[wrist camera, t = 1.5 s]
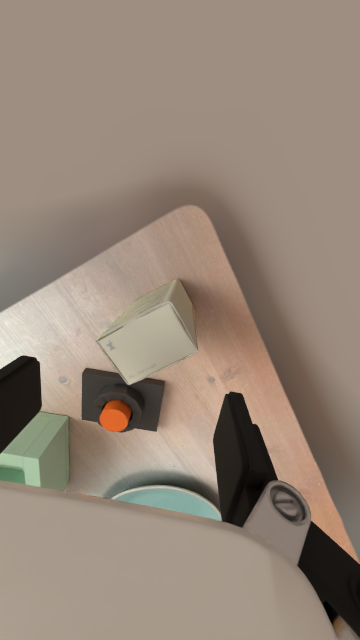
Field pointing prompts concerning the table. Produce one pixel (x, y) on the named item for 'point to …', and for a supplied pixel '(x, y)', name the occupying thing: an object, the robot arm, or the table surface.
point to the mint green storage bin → (39, 453)
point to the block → (122, 398)
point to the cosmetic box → (152, 333)
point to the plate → (170, 500)
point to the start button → (115, 416)
